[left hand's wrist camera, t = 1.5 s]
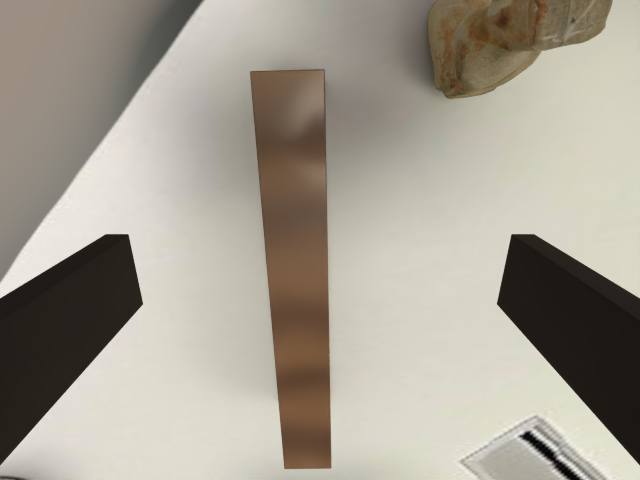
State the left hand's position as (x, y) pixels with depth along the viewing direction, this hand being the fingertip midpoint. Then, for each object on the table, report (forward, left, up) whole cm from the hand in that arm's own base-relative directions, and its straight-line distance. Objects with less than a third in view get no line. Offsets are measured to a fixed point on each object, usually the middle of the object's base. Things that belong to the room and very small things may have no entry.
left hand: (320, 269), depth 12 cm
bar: (+9, +6, -22) cm, 24 cm away
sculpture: (-14, +1, -22) cm, 26 cm away
